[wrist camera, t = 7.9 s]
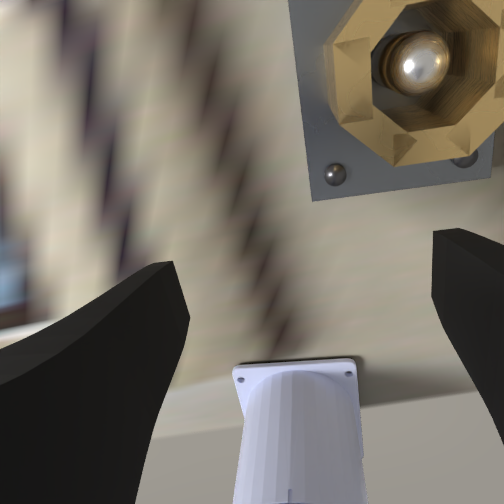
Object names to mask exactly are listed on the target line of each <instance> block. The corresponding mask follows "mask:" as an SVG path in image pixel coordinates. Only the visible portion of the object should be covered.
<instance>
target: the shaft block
mask: <svg viewBox="0 0 504 504" xmlns="http://www.w3.org/2000/svg"><path fill="white" fill-rule="evenodd" d="M353 1H354V0H288V3H289V12H290V20H291V28H292V37H293V45H294V54H295V62H296V70H297V79H298V87H299V96H300V104H301V112H302V121H303V129H304V138H305V146H306V154H307V163H308V171H309V180H310V188H311V196H312V202H313V201H320V200H328V199H335V198H343V197H350V196H358V195H365V194H372V193H380V192H387V191H395V190H402V189H410V188H417V187H425V186H432V185H440V184H447V183H455V182H462V181H470V180H477V179H484V178H490V177H491V166H492V156H493V145H494V134H495V131H494V132H493V133H492V134H491V135H490V136H489V137H488V138H487V139H486V140H485V141H484V142H483V143H482V144H481V145H480V146H479V147H478V148H477V149H476V150H475V151H474V152H473V153H472V154H471V155H470V156H466V157H459V158H453V159H446V160H439V161H432V162H425V163H418V164H411V165H405V166H398V167H393V166H392V165H390V164H389V163H388V162H387V161H385V160H384V159H383V158H381V157H380V156H379V155H378V154H376V153H375V152H374V151H372V150H371V149H370V148H369V147H367V146H366V145H365V144H363V143H362V142H361V141H359V140H358V139H357V138H356V137H354V136H353V135H352V134H350V133H349V132H348V131H347V130H345V129H344V128H343V127H341V126H340V125H339V123H338V122H337V120H336V118H335V116H334V114H333V112H332V110H331V108H330V107H329V104H328V93H327V82H326V71H325V60H324V49H323V45H324V43H325V42H326V40H327V39H328V38H329V36H330V35H331V33H332V32H333V30H334V29H335V27H336V26H337V24H338V23H339V22H340V20H341V19H342V17H343V16H344V14H345V13H346V11H347V10H348V8H349V7H350V6H351V4H352V3H353ZM370 57H371V80H372V103H373V105H374V106H375V107H376V108H377V109H379V110H385V109H390V108H396V107H402V106H408V105H414V104H415V103H416V102H417V101H418V99H419V98H420V97H421V96H422V95H424V94H427V93H429V92H431V91H432V90H434V89H435V88H436V87H437V86H438V85H439V84H440V83H441V82H442V81H443V79H444V78H445V76H446V74H447V72H448V69H449V66H450V50H449V47H448V44H447V43H446V41H445V40H444V39H443V38H442V33H441V32H440V31H438V30H437V29H436V28H435V27H434V26H433V25H432V24H431V23H429V22H428V21H427V20H426V19H425V18H424V17H423V16H422V15H420V14H419V13H418V12H417V11H416V10H415V9H412V10H408V11H403V12H401V13H400V14H399V16H398V17H397V18H396V20H395V21H394V22H393V24H392V25H391V26H390V27H389V29H388V30H387V31H386V33H385V34H384V35H383V37H382V38H381V39H380V41H379V42H378V43H377V45H376V46H375V47H374V49H373V50H372V51H371V53H370Z"/></svg>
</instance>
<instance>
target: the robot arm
mask: <svg viewBox="0 0 504 504" xmlns="http://www.w3.org/2000/svg"><path fill="white" fill-rule="evenodd" d="M431 297H432V300H433V302H434V305H435V308H436V311H437V314H438V316H439V319H440V321H441V324H442V326H443V328H444V330H445V332H446V334H447V336H448V338H449V339H450V341H451V343H452V345H453V347H454V349H455V350H456V352H457V354H458V356H459V357H460V359H461V361H462V363H463V365H464V366H465V368H466V370H467V372H468V373H469V375H470V377H471V379H472V381H473V382H474V384H475V386H476V388H477V389H478V391H479V393H480V395H481V397H482V398H483V400H484V402H485V404H486V406H487V408H488V410H489V412H490V414H491V416H492V418H493V421H494V423H495V425H496V428H497V430H498V433H499V435H500V437H501V439H502V442H503V444H504V245H502V244H500V243H497V242H495V241H493V240H490V239H488V238H485V237H483V236H480V235H478V234H475V233H473V232H470V231H467V230H464V229H460V228H455V229H446V230H438V231H433V256H432V292H431ZM189 321H190V315H189V312H188V308H187V305H186V302H185V299H184V296H183V292H182V289H181V286H180V283H179V279H178V276H177V273H176V270H175V266H174V263H173V261H167V262H158V263H152V264H150V265H148V266H146V267H144V268H143V269H141V270H139V271H138V272H136V273H134V274H133V275H131V276H130V277H128V278H127V279H125V280H124V281H122V282H120V283H119V284H117V285H116V286H114V287H113V288H111V289H110V290H108V291H107V292H105V293H104V294H102V295H101V296H99V297H98V298H96V299H94V300H93V301H91V302H89V303H88V304H86V305H85V306H83V307H81V308H80V309H78V310H76V311H75V312H73V313H72V314H70V315H68V316H67V317H65V318H63V319H61V320H59V321H58V322H56V323H54V324H52V325H50V326H48V327H46V328H44V329H42V330H41V331H39V332H37V333H35V334H33V335H31V336H29V337H27V338H25V339H22V340H20V341H18V342H16V343H13V344H11V345H9V346H6V347H4V348H2V349H0V504H135V501H136V496H137V492H138V487H139V484H140V479H141V475H142V471H143V467H144V462H145V459H146V454H147V451H148V447H149V444H150V440H151V436H152V432H153V429H154V426H155V423H156V420H157V417H158V414H159V411H160V408H161V406H162V403H163V401H164V398H165V395H166V393H167V390H168V388H169V385H170V382H171V380H172V377H173V375H174V372H175V370H176V367H177V364H178V361H179V359H180V356H181V353H182V351H183V348H184V344H185V340H186V336H187V331H188V326H189ZM347 371H351V372H349V373H347ZM232 375H233V378H234V382H235V386H236V389H237V393H238V397H239V400H240V404H241V408H242V412H243V415H244V419H245V422H244V429H243V437H242V443H241V450H240V456H239V464H238V471H237V477H236V485H235V492H234V498H233V504H368V498H367V491H366V485H365V478H364V472H363V465H362V458H363V456H364V453H363V442H362V429H361V417H360V404H359V392H358V380H357V368H356V363H355V361H354V360H353V359H350V358H343V359H327V360H311V361H295V362H279V363H263V364H247V365H237V366H235V367H234V368H233V372H232ZM239 377H243V379H242V378H239Z"/></svg>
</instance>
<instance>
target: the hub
mask: <svg viewBox="0 0 504 504" xmlns="http://www.w3.org/2000/svg"><path fill="white" fill-rule="evenodd" d="M412 9H415V10H416V11H417V12H418V13H419V14H420V15H422V16H423V17H424V18H425V19H426V20H427V21H428V22H429V23H431V24H432V25H433V26H434V27H435V28H436V29H437V30H438V31H440V32H441V33H442V38H443V39H444V40H445V41H446V43H447V44H448V47H449V50H450V66H449V69H448V72H447V74H446V76H445V78H444V79H443V81H442V82H441V83H440V84H439V85H438V86H437V87H436V88H435V89H434V90H432V91H431V92H429V93H427V94H424V95H422V96H421V97H420V98H419V99H418V101H417V102H416V103H415V104H414V105H408V106H402V107H396V108H390V109H385V110H379V109H377V108H376V107H375V106H374V105H373V103H372V80H371V57H370V53H371V51H372V50H373V49H374V47H375V46H376V45H377V43H378V42H379V41H380V39H381V38H382V37H383V35H384V34H385V33H386V31H387V30H388V29H389V27H390V26H391V25H392V24H393V22H394V21H395V20H396V18H397V17H398V16H399V14H400V13H401V12H403V11H408V10H412ZM323 49H324V60H325V71H326V82H327V93H328V104H329V107H330V108H331V110H332V112H333V114H334V116H335V118H336V120H337V122H338V123H339V125H340V126H341V127H343V128H344V129H345V130H347V131H348V132H349V133H350V134H352V135H353V136H354V137H356V138H357V139H358V140H359V141H361V142H362V143H363V144H365V145H366V146H367V147H369V148H370V149H371V150H372V151H374V152H375V153H376V154H378V155H379V156H380V157H381V158H383V159H384V160H385V161H387V162H388V163H389V164H390V165H392V166H393V167H398V166H405V165H411V164H418V163H425V162H432V161H439V160H446V159H453V158H459V157H466V156H470V155H471V154H472V153H473V152H474V151H475V150H476V149H477V148H478V147H479V146H480V145H481V144H482V143H483V142H484V141H485V140H486V139H487V138H488V137H489V136H490V135H491V134H492V133H493V132H494V131H495V130H496V129H497V128H498V127H499V126H500V125H501V124H502V123H503V122H504V0H354V1H353V3H352V4H351V6H350V7H349V8H348V10H347V11H346V13H345V14H344V16H343V17H342V19H341V20H340V22H339V23H338V24H337V26H336V27H335V29H334V30H333V32H332V33H331V35H330V36H329V38H328V39H327V40H326V42H325V43H324V45H323Z"/></svg>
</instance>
